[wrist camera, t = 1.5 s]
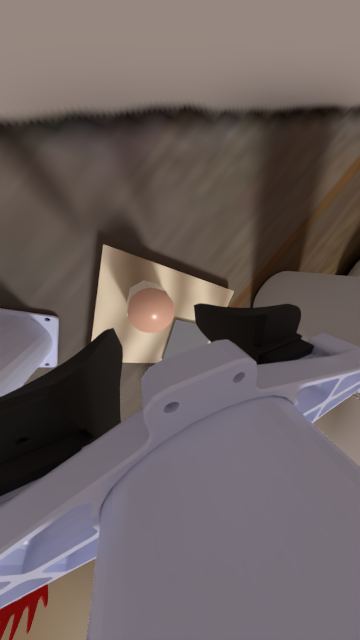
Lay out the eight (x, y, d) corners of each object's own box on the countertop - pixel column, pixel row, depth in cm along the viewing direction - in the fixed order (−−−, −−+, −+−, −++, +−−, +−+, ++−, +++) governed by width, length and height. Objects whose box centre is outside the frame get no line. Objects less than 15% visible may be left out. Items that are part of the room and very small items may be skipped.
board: (91, 354, 21) (88, 361, 19) (105, 245, 16) (103, 244, 14) (197, 359, 29) (200, 364, 28) (228, 289, 24) (234, 291, 23)
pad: (161, 358, 24) (162, 360, 23) (175, 318, 21) (175, 319, 21) (198, 360, 27) (199, 361, 27) (213, 325, 25) (215, 326, 24)
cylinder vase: (300, 264, 28) (878, 286, 6) (288, 316, 34) (563, 417, 12) (252, 279, 25) (968, 401, 4) (248, 332, 31) (510, 496, 10)
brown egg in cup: (124, 312, 18) (123, 329, 14) (132, 276, 17) (133, 283, 12) (159, 319, 20) (167, 335, 16) (168, 287, 19) (180, 296, 14)
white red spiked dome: (80, 494, 35) (53, 628, 23) (7, 513, 29) (-90, 716, 16) (96, 463, 32) (75, 598, 19) (17, 477, 26) (-93, 694, 13)
